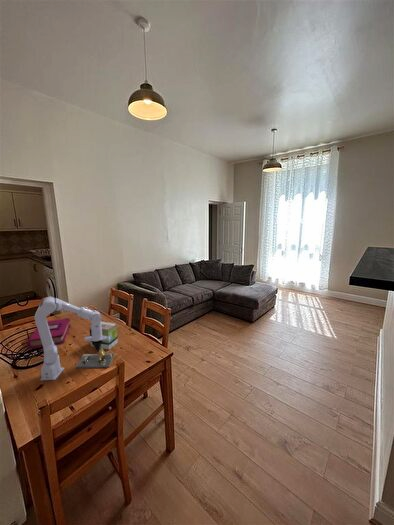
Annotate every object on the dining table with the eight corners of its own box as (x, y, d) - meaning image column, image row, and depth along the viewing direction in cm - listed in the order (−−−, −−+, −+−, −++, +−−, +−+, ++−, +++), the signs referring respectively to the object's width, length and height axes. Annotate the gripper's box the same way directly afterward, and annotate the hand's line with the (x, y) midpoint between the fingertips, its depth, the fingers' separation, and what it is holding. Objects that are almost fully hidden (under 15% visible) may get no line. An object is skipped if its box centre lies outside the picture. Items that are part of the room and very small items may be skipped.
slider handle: (101, 361, 131) (101, 353, 130) (96, 361, 131) (95, 353, 130) (105, 354, 137) (104, 347, 136) (100, 354, 137) (99, 347, 136)
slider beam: (109, 361, 131) (108, 358, 131) (80, 362, 130) (79, 359, 130) (111, 356, 136) (111, 353, 136) (83, 357, 135) (83, 354, 135)
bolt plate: (109, 367, 128) (108, 365, 128) (75, 368, 127) (75, 366, 126) (114, 355, 139) (114, 353, 139) (83, 356, 137) (83, 355, 137)
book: (27, 350, 144) (25, 339, 143) (40, 330, 170) (39, 321, 168) (63, 344, 151) (62, 334, 150) (71, 325, 177) (70, 317, 176)
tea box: (118, 342, 154) (117, 323, 151) (109, 350, 145) (107, 330, 142) (100, 338, 158) (99, 320, 155) (90, 346, 148) (88, 326, 146)
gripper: (111, 327, 136) (112, 346, 139) (87, 328, 135) (88, 347, 137) (107, 333, 129) (108, 353, 132) (82, 333, 128) (84, 354, 131)
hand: (98, 351), depth 134 cm, fingers closed
